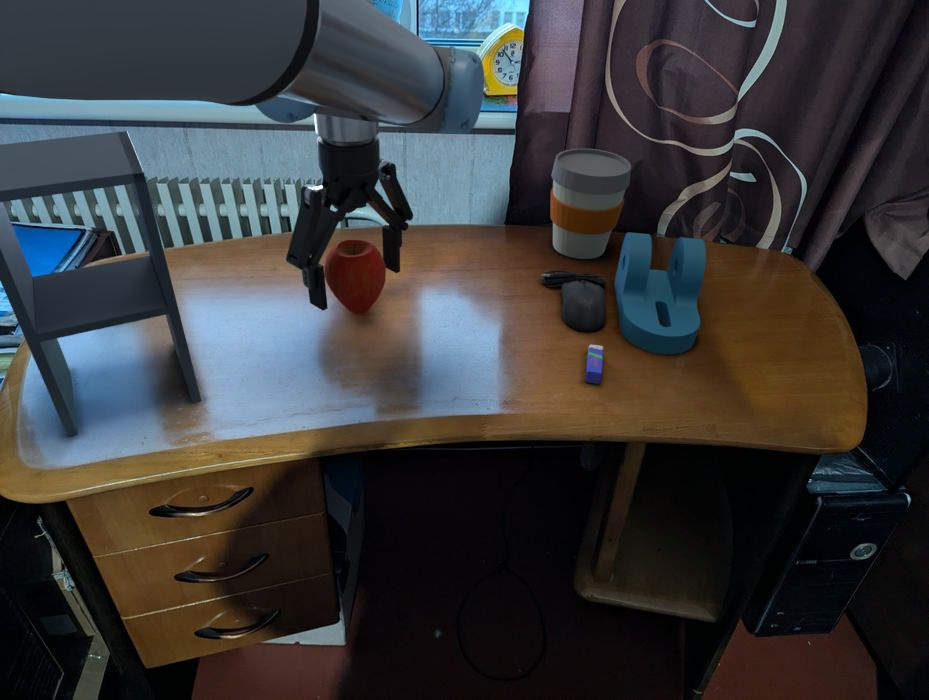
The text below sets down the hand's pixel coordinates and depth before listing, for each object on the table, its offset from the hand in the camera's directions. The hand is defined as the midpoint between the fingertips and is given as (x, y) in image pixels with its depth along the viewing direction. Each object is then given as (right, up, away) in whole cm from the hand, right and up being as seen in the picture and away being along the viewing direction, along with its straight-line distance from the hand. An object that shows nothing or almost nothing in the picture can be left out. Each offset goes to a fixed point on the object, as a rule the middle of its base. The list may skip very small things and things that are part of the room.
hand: (356, 286), depth 92 cm
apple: (0, -3, +2) cm, 4 cm away
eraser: (+32, -12, -6) cm, 34 cm away
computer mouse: (+32, -2, +7) cm, 33 cm away
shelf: (-25, -13, -13) cm, 31 cm away
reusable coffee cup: (+35, +9, +22) cm, 42 cm away
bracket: (+43, -4, +5) cm, 43 cm away
